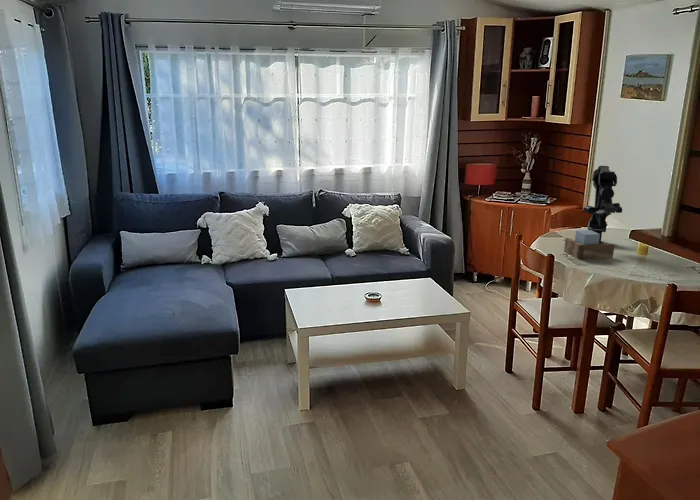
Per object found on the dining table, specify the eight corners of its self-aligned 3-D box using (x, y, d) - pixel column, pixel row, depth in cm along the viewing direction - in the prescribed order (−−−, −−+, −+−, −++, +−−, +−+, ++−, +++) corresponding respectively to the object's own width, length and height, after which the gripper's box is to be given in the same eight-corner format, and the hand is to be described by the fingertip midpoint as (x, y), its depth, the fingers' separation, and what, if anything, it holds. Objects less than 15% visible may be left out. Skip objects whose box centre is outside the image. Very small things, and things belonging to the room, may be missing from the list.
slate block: (573, 253, 283) (576, 230, 279) (587, 253, 284) (590, 230, 281) (581, 258, 275) (584, 234, 272) (596, 257, 276) (600, 234, 273)
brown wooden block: (563, 251, 286) (565, 238, 284) (596, 250, 289) (598, 237, 287) (578, 259, 273) (580, 245, 271) (612, 258, 276) (614, 244, 274)
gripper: (596, 199, 276) (592, 230, 281) (631, 198, 279) (626, 229, 284) (584, 195, 287) (580, 224, 291) (617, 194, 290) (613, 223, 294)
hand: (600, 225), depth 290 cm, fingers closed
